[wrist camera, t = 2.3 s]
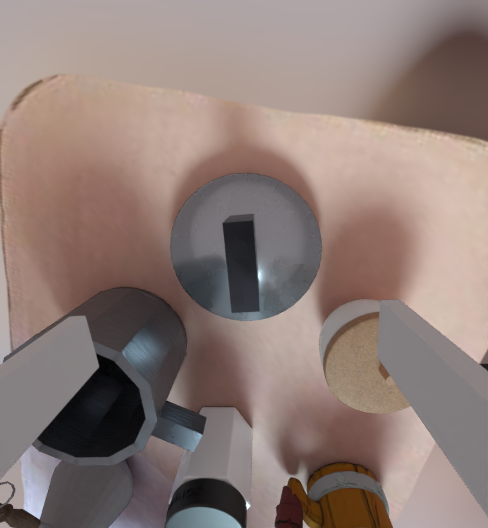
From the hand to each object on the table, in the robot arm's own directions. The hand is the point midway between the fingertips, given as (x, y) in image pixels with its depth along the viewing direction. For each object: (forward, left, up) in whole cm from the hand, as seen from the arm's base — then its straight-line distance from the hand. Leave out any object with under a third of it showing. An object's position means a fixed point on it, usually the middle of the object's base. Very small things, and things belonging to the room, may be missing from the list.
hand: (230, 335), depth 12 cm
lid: (0, 0, -19) cm, 19 cm away
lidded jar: (-3, -16, -19) cm, 25 cm away
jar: (-25, -8, -19) cm, 33 cm away
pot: (-17, +6, -19) cm, 26 cm away
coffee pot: (-36, +7, -19) cm, 41 cm away
